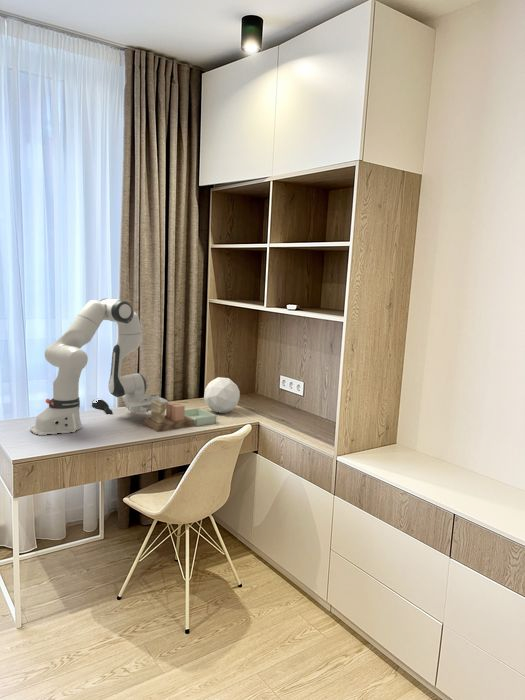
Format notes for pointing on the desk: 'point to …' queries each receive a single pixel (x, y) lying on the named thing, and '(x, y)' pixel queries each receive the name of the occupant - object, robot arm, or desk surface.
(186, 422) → the board
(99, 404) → the hairbrush
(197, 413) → the tray
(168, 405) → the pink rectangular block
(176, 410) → the pink building block
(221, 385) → the geometric polyhedron
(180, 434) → the desk surface
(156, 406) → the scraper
